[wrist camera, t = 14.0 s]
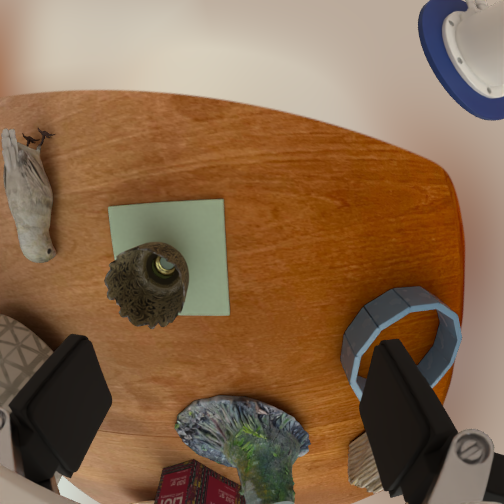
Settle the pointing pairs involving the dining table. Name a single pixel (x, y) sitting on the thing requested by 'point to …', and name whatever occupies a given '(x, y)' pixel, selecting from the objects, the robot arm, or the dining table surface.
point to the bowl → (144, 502)
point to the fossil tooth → (363, 466)
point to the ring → (390, 311)
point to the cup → (148, 284)
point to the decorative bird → (28, 195)
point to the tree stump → (247, 443)
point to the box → (196, 486)
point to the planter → (19, 360)
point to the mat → (182, 245)
